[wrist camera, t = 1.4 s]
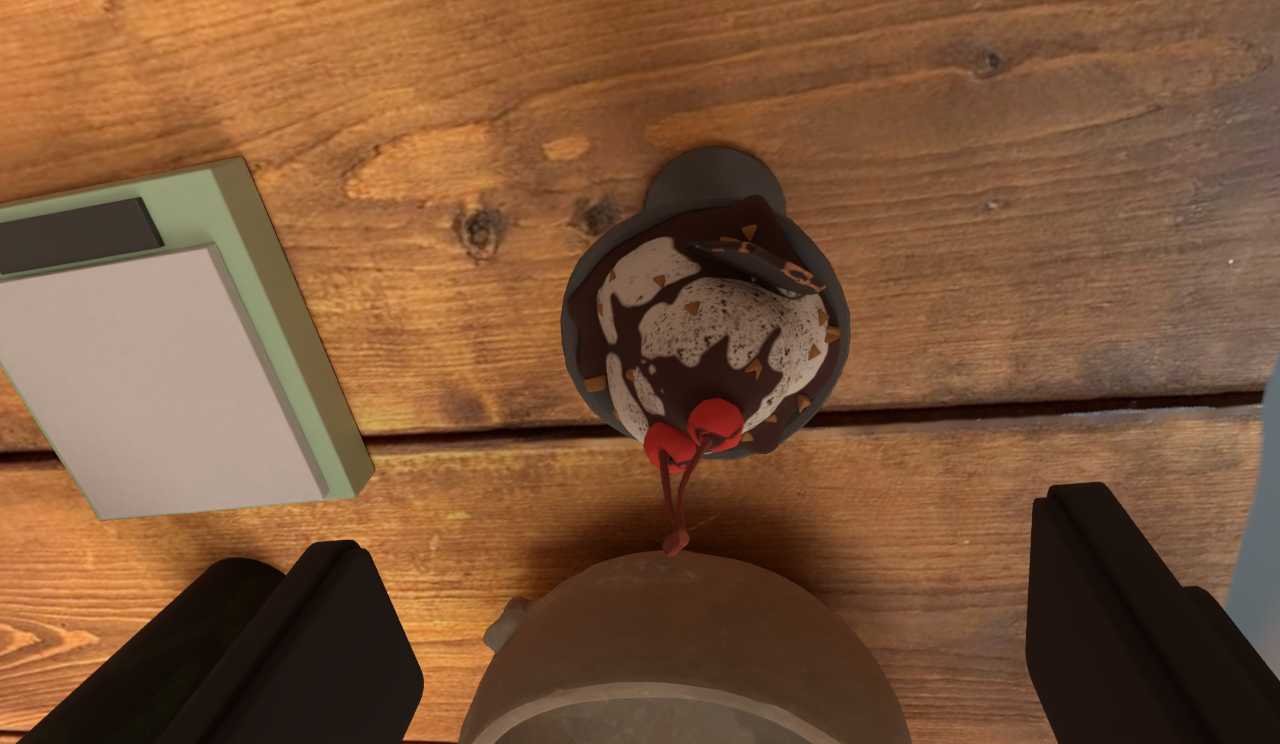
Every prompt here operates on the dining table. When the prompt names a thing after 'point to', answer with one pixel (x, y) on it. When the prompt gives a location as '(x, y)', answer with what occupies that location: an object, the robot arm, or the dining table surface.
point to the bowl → (679, 662)
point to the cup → (161, 661)
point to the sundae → (705, 320)
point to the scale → (171, 348)
